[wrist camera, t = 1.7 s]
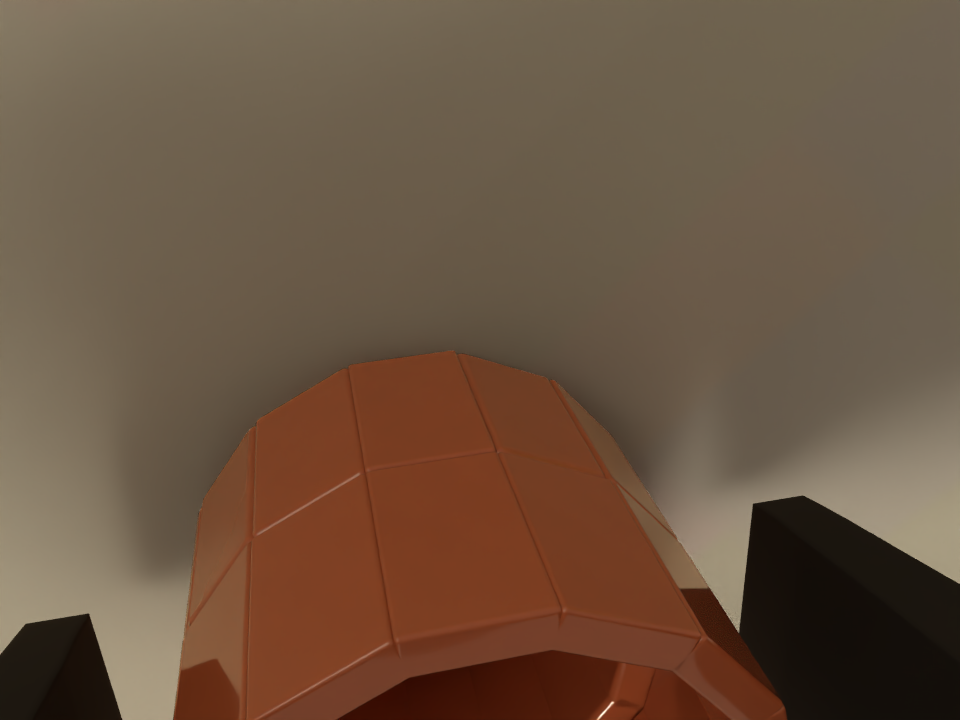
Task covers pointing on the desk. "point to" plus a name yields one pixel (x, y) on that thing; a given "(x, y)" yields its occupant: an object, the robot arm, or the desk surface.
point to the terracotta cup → (448, 565)
